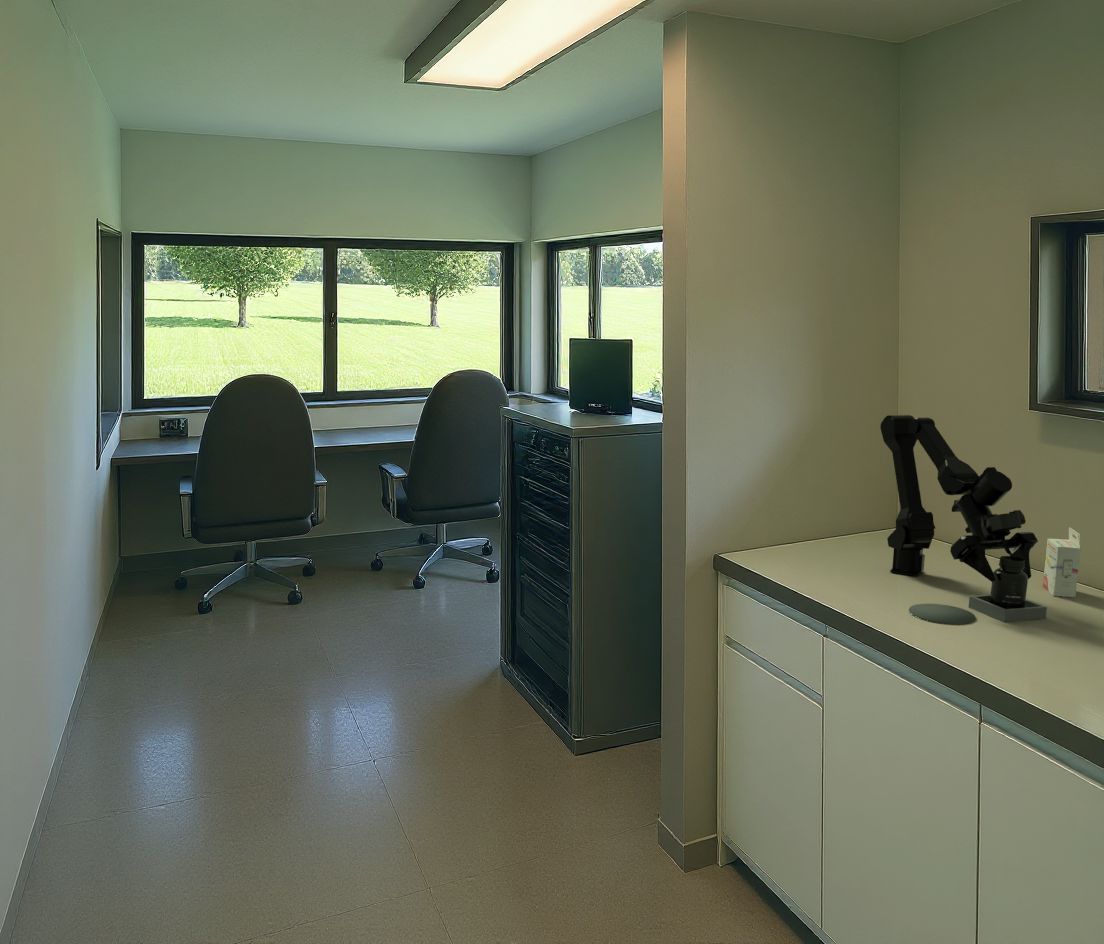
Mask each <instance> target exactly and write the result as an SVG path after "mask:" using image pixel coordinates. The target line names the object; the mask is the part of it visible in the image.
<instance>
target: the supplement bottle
mask: <svg viewBox="0 0 1104 944" xmlns="http://www.w3.org/2000/svg"><path fill="white" fill-rule="evenodd" d="M1024 564H1025V560H1024V559H1022V558H1019V557H1013V556H1010V555H1001V556H1000V557H999V562H998V566H999V567H997V568H996V569H994V571H993V573H994V576H995V581H993V582H991V587H990V603H991V604H994V605H996V606H999V607H1001V608H1004V609H1015V608H1025V601H1026V599H1027V592H1028V591H1027V590H1028V584H1029V583H1028V582H1029V579H1028V576H1027V574H1026V573H1025V572H1024V571H1023V569H1024Z"/></svg>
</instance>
